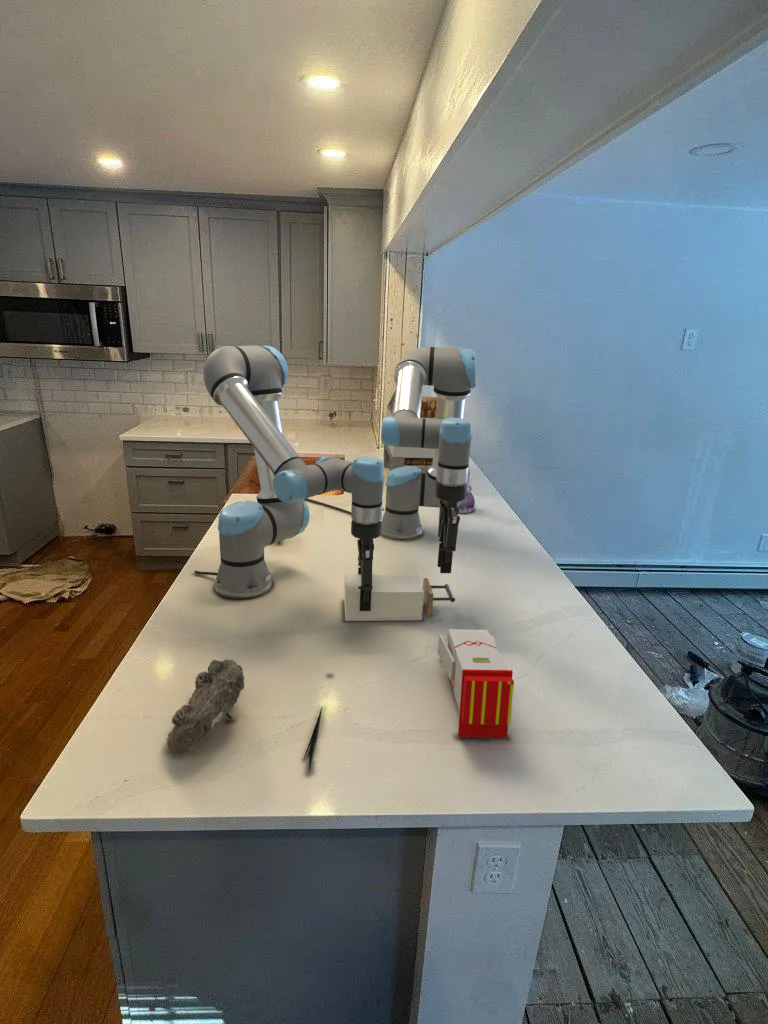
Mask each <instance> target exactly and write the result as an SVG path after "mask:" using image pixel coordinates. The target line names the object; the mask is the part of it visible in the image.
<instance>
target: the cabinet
mask: <svg viewBox="0 0 768 1024" xmlns="http://www.w3.org/2000/svg"><path fill="white" fill-rule="evenodd" d="M358 586H361V574H358V573H345V574H344V591H343V595H344V596H343V597H344V598H343V603H344V620H345V622H363V621H364V622H367V621H368V622H369V621H372V622H373V621H374V622H375V621H381V622H382V621H384V622H385V621H422V620H423V608H424V607H423V606H424V604H423V595H424V591H423V584H422V583H421V580H420V577H419V574H418V573H372V586H373V589H372V590H371V611H360V589H358Z"/></svg>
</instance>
